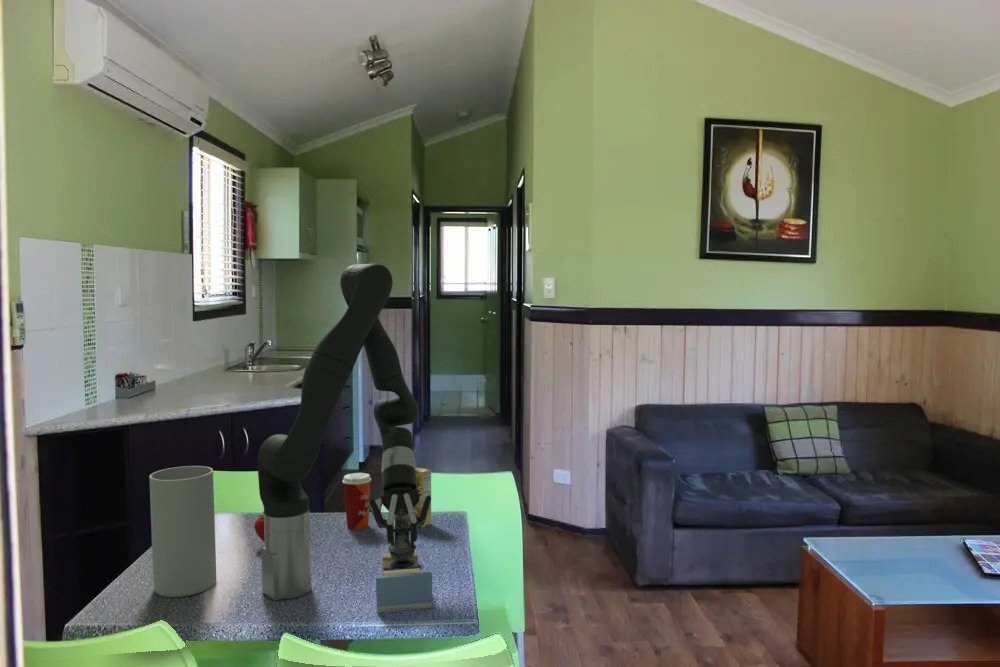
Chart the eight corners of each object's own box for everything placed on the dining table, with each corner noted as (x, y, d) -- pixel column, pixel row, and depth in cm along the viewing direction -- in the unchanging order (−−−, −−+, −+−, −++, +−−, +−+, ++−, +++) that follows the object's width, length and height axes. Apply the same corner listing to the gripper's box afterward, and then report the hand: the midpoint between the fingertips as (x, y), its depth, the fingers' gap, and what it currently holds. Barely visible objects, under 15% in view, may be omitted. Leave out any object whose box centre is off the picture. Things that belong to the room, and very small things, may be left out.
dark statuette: (383, 566, 153) (381, 510, 152) (399, 557, 158) (398, 502, 157) (406, 571, 150) (404, 514, 149) (422, 561, 155) (420, 506, 154)
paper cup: (369, 531, 193) (368, 479, 192) (340, 531, 193) (339, 479, 192) (374, 521, 200) (373, 471, 200) (346, 522, 200) (345, 472, 200)
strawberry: (249, 548, 181) (247, 508, 180) (270, 539, 187) (269, 500, 187) (267, 551, 178) (266, 511, 177) (288, 542, 185) (287, 503, 184)
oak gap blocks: (382, 564, 169) (382, 554, 169) (417, 562, 170) (416, 551, 170) (383, 586, 156) (383, 575, 156) (420, 583, 158) (420, 572, 157)
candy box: (396, 523, 199) (395, 468, 198) (405, 519, 203) (404, 465, 202) (423, 528, 195) (422, 471, 194) (432, 523, 199) (431, 468, 198)
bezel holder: (376, 592, 153) (375, 560, 153) (428, 588, 155) (428, 556, 155) (376, 613, 144) (376, 578, 143) (432, 608, 145) (431, 574, 145)
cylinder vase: (141, 597, 152) (136, 479, 151) (175, 574, 164) (171, 465, 163) (196, 600, 150) (192, 481, 149) (227, 576, 163) (223, 466, 161)
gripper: (366, 464, 159) (367, 538, 147) (431, 461, 161) (437, 533, 150) (367, 482, 164) (368, 554, 153) (429, 478, 167) (435, 549, 155)
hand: (402, 543), depth 151 cm, fingers closed on dark statuette, 3 cm apart
